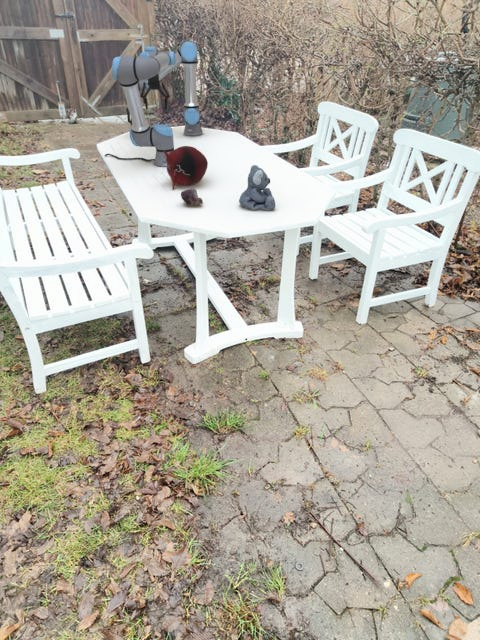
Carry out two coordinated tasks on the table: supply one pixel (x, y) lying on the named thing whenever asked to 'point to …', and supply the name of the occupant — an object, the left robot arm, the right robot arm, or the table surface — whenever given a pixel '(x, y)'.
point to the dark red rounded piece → (186, 165)
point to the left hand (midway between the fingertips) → (156, 109)
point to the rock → (191, 197)
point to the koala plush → (257, 191)
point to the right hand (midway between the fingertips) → (137, 132)
